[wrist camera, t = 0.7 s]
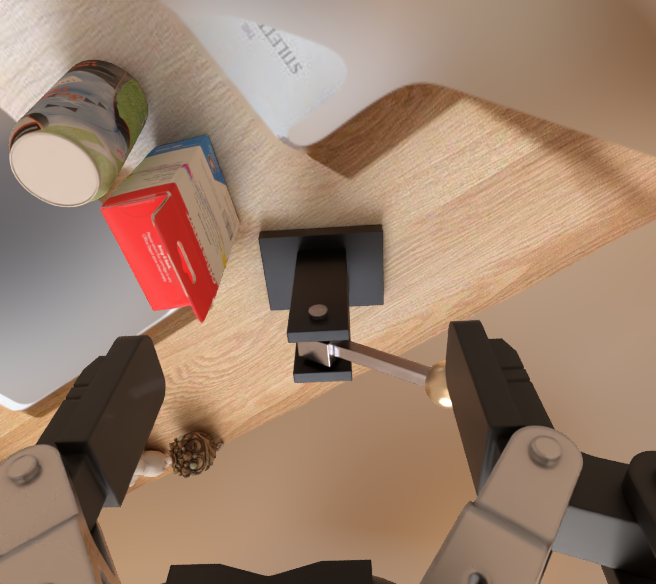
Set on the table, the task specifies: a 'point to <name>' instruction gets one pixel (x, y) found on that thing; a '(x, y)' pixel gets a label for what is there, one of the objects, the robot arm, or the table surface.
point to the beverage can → (78, 134)
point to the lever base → (322, 286)
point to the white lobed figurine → (150, 465)
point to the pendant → (192, 453)
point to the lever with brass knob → (382, 365)
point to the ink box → (175, 225)
